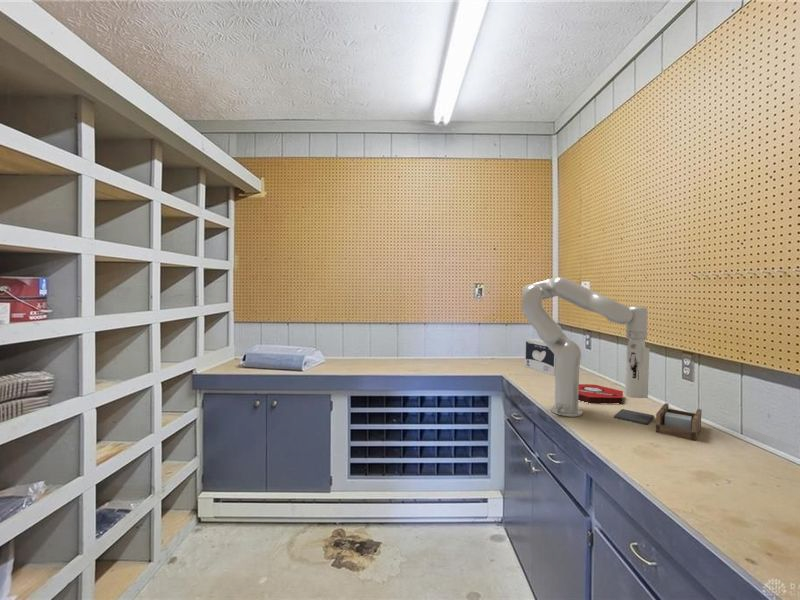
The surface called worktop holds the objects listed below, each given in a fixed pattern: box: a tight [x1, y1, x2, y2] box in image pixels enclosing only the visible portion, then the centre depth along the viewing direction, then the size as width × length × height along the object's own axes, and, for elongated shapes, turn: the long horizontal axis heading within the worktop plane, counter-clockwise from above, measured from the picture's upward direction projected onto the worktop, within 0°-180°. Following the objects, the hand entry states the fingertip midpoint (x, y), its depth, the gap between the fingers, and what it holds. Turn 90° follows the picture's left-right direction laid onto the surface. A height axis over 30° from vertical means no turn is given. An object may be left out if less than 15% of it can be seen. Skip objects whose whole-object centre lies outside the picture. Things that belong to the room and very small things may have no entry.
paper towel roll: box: [624, 345, 650, 399], centre depth 162 cm, size 7×6×21 cm
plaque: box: [578, 383, 624, 405], centre depth 195 cm, size 27×4×30 cm
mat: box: [613, 408, 655, 426], centre depth 163 cm, size 14×12×1 cm
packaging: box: [524, 337, 557, 377], centre depth 258 cm, size 30×6×20 cm, turn 18°
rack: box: [655, 402, 702, 442], centre depth 149 cm, size 20×12×7 cm, turn 137°
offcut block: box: [665, 412, 692, 431], centre depth 147 cm, size 6×8×6 cm
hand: (635, 378), depth 163 cm, fingers closed on paper towel roll, 3 cm apart
